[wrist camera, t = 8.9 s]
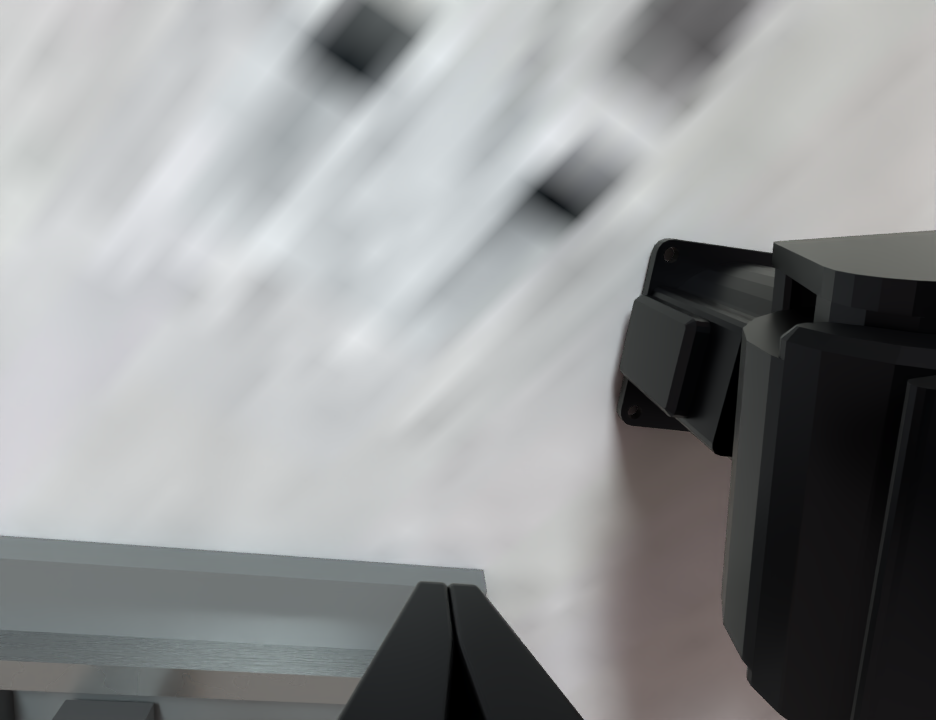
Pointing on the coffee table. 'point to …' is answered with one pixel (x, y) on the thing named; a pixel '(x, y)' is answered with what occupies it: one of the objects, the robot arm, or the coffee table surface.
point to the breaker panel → (193, 628)
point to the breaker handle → (104, 710)
